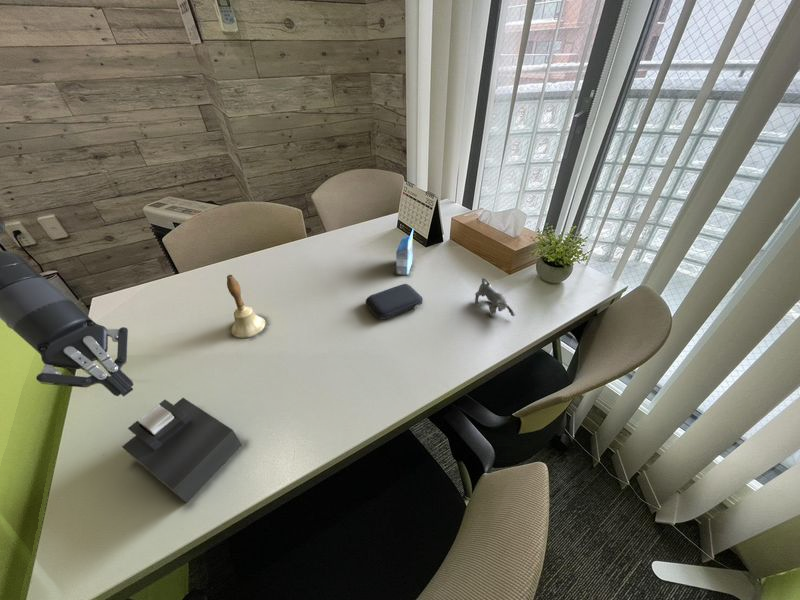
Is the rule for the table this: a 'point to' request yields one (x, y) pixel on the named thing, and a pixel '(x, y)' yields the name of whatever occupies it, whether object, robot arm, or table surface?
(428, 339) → the table surface
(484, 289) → the dog figurine
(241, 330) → the hand bell
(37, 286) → the robot arm
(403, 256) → the blue white carton
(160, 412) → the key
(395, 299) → the carrying case
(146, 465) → the black square panel
